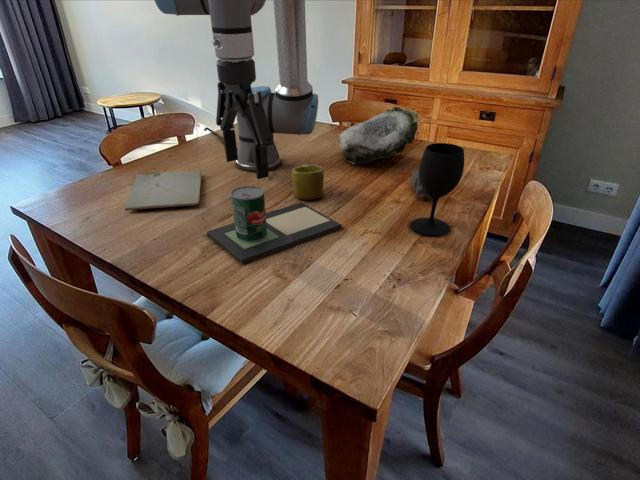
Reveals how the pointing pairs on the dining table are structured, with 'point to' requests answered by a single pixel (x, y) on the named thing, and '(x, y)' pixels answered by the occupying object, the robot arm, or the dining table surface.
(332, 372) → the dining table surface
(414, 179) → the perforated stone tool
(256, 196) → the canned tomato
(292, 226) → the black board
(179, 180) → the decorative slab
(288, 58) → the robot arm
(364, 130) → the stone basin
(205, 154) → the dining table surface
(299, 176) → the mug
